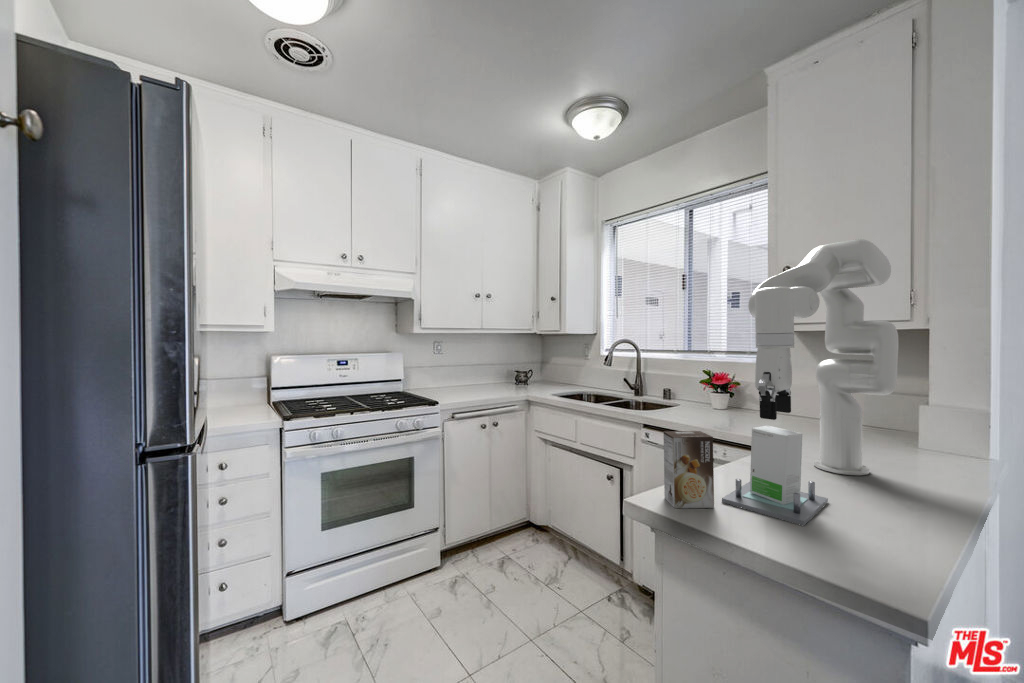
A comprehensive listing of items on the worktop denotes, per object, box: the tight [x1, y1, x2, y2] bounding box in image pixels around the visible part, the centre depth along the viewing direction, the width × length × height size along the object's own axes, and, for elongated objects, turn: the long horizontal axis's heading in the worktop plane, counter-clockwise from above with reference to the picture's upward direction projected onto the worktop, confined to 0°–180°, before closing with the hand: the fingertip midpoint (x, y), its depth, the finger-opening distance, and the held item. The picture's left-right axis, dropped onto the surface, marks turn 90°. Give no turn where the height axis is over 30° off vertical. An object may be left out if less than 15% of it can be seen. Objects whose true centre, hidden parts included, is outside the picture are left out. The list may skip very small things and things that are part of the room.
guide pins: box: [735, 478, 816, 514], centre depth 95 cm, size 12×13×4 cm
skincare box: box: [749, 425, 803, 505], centre depth 96 cm, size 8×7×16 cm
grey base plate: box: [721, 481, 829, 527], centre depth 95 cm, size 18×16×1 cm
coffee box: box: [663, 430, 715, 509], centre depth 96 cm, size 9×6×16 cm
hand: (775, 415), depth 96 cm, fingers open, 9 cm apart
